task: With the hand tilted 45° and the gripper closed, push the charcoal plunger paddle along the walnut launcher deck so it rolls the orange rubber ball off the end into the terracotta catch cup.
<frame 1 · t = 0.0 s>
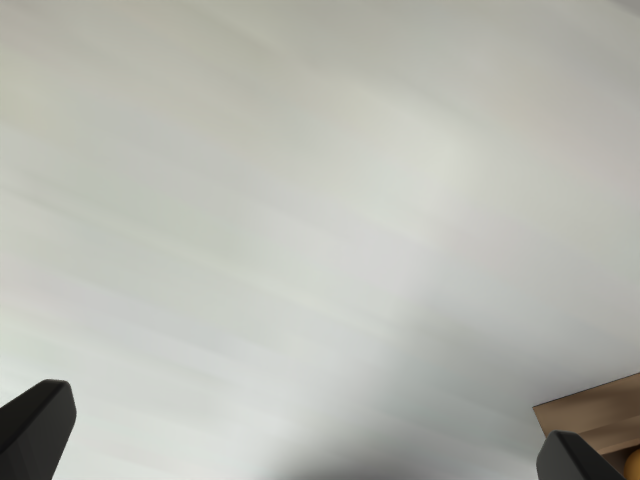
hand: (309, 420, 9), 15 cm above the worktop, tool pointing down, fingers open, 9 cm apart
launcher deck: (612, 419, 29), on the worktop
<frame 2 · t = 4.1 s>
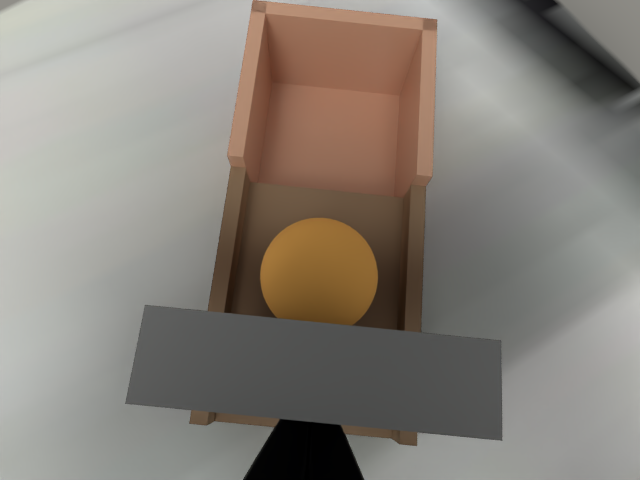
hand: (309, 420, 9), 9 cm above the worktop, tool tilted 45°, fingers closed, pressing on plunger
catch cup: (329, 152, 20), on the worktop
plunger: (312, 371, 10), point 7 cm above the worktop, slide at 0.1 cm, touching gripper
ball: (319, 276, 14), point 4 cm above the worktop, touching launcher deck
launcher deck: (314, 310, 18), on the worktop
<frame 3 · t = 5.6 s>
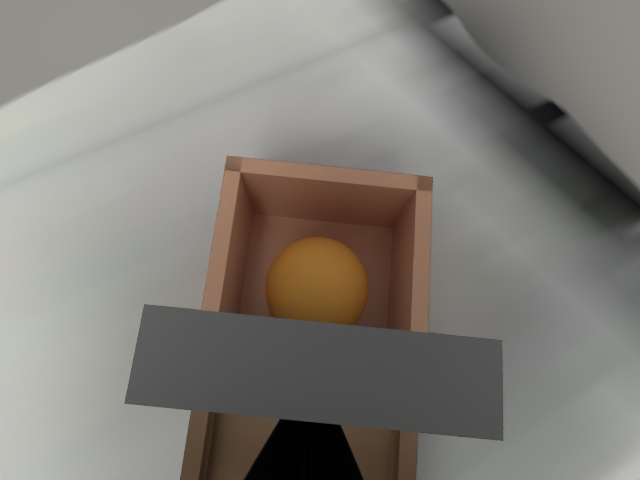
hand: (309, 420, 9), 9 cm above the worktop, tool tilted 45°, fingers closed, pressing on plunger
catch cup: (316, 292, 18), on the worktop
plunger: (312, 371, 10), point 7 cm above the worktop, slide at 6.1 cm, touching gripper
ball: (317, 288, 16), point 2 cm above the worktop, tilted 139°, touching catch cup
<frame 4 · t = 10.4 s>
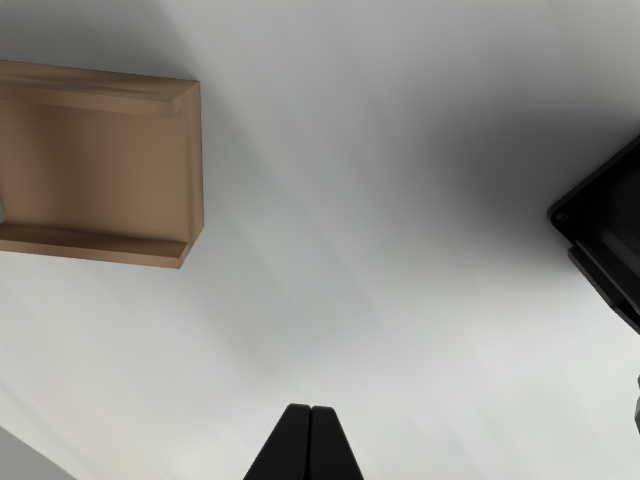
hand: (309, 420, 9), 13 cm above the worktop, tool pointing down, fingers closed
launcher deck: (109, 149, 20), on the worktop
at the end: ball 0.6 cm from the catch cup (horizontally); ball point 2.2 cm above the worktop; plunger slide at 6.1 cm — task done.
